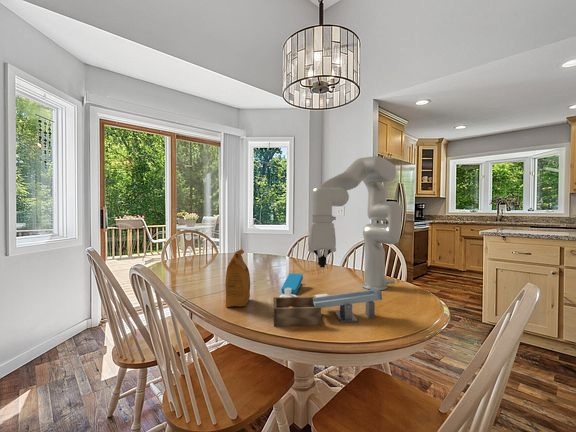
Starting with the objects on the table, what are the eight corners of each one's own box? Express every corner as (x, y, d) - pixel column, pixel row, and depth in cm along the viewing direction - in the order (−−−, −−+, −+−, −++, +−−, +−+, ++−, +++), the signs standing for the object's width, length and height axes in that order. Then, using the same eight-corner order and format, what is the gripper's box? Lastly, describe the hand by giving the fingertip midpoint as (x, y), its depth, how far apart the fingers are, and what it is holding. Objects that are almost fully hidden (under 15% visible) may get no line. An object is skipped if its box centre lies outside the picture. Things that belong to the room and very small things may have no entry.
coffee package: (253, 298, 125) (253, 248, 125) (246, 309, 113) (246, 253, 112) (231, 298, 127) (231, 248, 126) (221, 308, 114) (221, 252, 113)
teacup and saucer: (290, 302, 122) (290, 293, 122) (274, 299, 126) (274, 290, 126) (300, 296, 129) (300, 287, 129) (285, 294, 134) (285, 285, 133)
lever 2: (370, 289, 115) (369, 282, 115) (382, 299, 103) (381, 291, 103) (311, 297, 114) (310, 290, 114) (315, 308, 102) (314, 300, 101)
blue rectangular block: (296, 303, 133) (305, 282, 150) (295, 289, 131) (304, 270, 148) (282, 301, 135) (292, 281, 152) (281, 288, 133) (291, 269, 150)
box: (315, 312, 110) (315, 296, 110) (320, 325, 98) (320, 307, 98) (273, 313, 109) (273, 297, 109) (273, 326, 97) (273, 308, 97)
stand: (368, 311, 111) (368, 296, 111) (377, 321, 101) (377, 305, 101) (334, 311, 110) (334, 296, 110) (340, 322, 100) (340, 305, 100)
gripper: (339, 219, 115) (338, 264, 116) (301, 219, 114) (301, 265, 115) (343, 220, 108) (343, 268, 109) (303, 220, 107) (304, 269, 108)
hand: (322, 266), depth 112 cm, fingers closed
